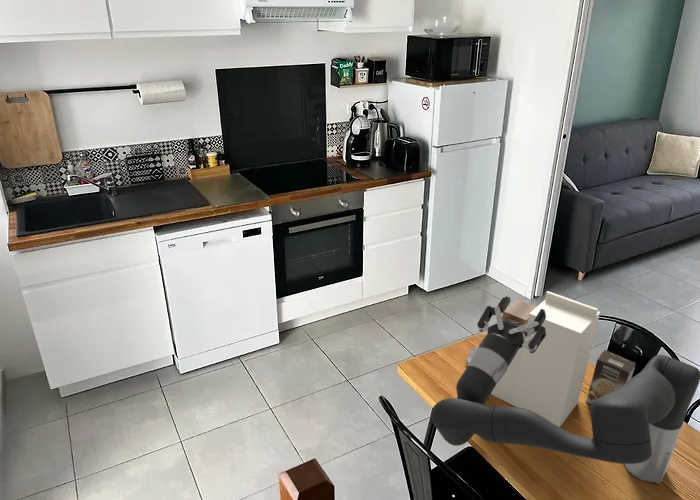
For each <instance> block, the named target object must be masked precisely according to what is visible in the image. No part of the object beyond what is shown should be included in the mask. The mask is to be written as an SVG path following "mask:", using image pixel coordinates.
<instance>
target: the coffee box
mask: <svg viewBox="0 0 700 500" xmlns="http://www.w3.org/2000/svg"><path fill="white" fill-rule="evenodd" d="M636 364H637V363H636V362H634V361H632V360H629V359H627V358H624V357H623V356H621V355H618V354H616V353H614V352H611V351H609V350H606V349H604V350H603V351H602V353H601V354H600V355H599V357H598V358H597V360H596V363H595V368H594V370H593V375H592V378H591V382H590V385H589V388H588V392H587V396H586V399H585V402H586V403H587V404H589V405H592V403H593V402H594V401H595V400H596V399H598V398H600V397H602V396H604V395H606V394H609V393H611V392H613V391H616V390H617V389H619V388H620V387H622V386H623V385H624V384H625V383H626V382H627V381H629V380H630V379H631V378H633V374H634V371H635V367H636Z"/></svg>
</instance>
